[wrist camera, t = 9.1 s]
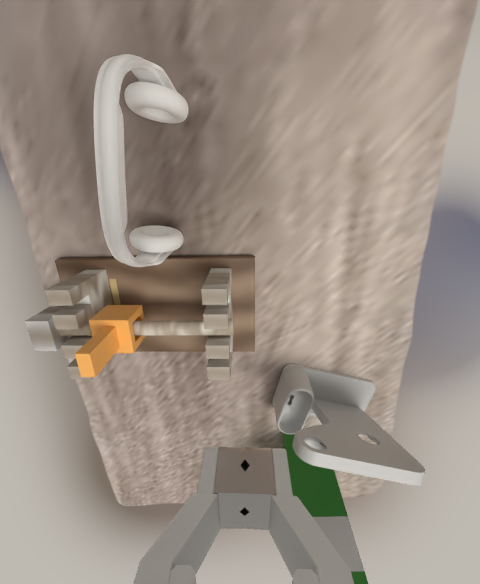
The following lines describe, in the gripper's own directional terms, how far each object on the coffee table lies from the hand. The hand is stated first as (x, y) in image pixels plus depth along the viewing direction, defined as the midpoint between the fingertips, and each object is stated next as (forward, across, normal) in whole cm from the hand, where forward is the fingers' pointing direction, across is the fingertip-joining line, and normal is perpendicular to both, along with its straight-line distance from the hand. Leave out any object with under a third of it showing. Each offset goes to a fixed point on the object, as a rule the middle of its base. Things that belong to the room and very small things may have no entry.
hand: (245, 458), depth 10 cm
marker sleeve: (+27, +17, +9) cm, 33 cm away
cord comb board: (+33, +14, +9) cm, 37 cm away
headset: (+34, +11, -10) cm, 37 cm away
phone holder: (+33, -14, +26) cm, 44 cm away
